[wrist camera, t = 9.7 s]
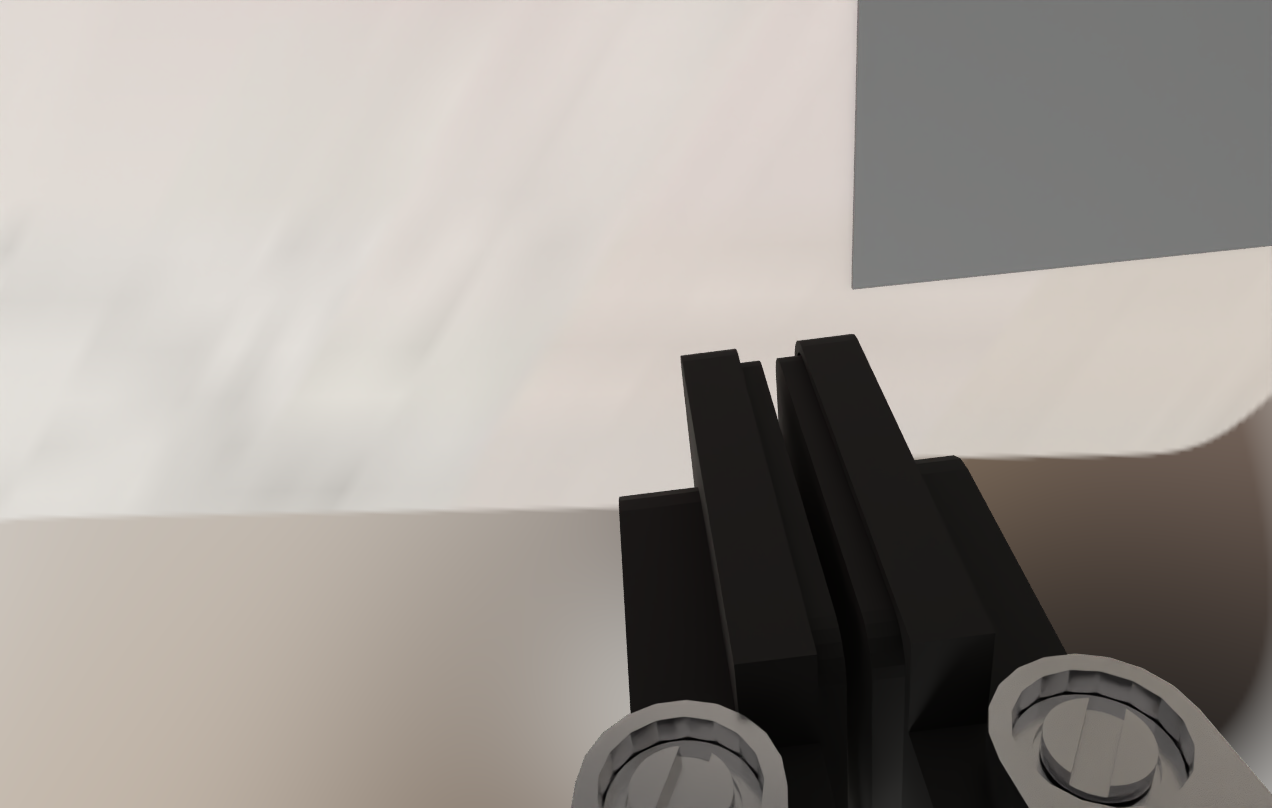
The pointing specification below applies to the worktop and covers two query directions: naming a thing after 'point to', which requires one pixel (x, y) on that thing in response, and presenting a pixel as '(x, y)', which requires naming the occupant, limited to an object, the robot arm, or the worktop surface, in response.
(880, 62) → the t mat
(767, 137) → the worktop surface
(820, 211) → the worktop surface
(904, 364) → the worktop surface
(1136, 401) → the worktop surface
